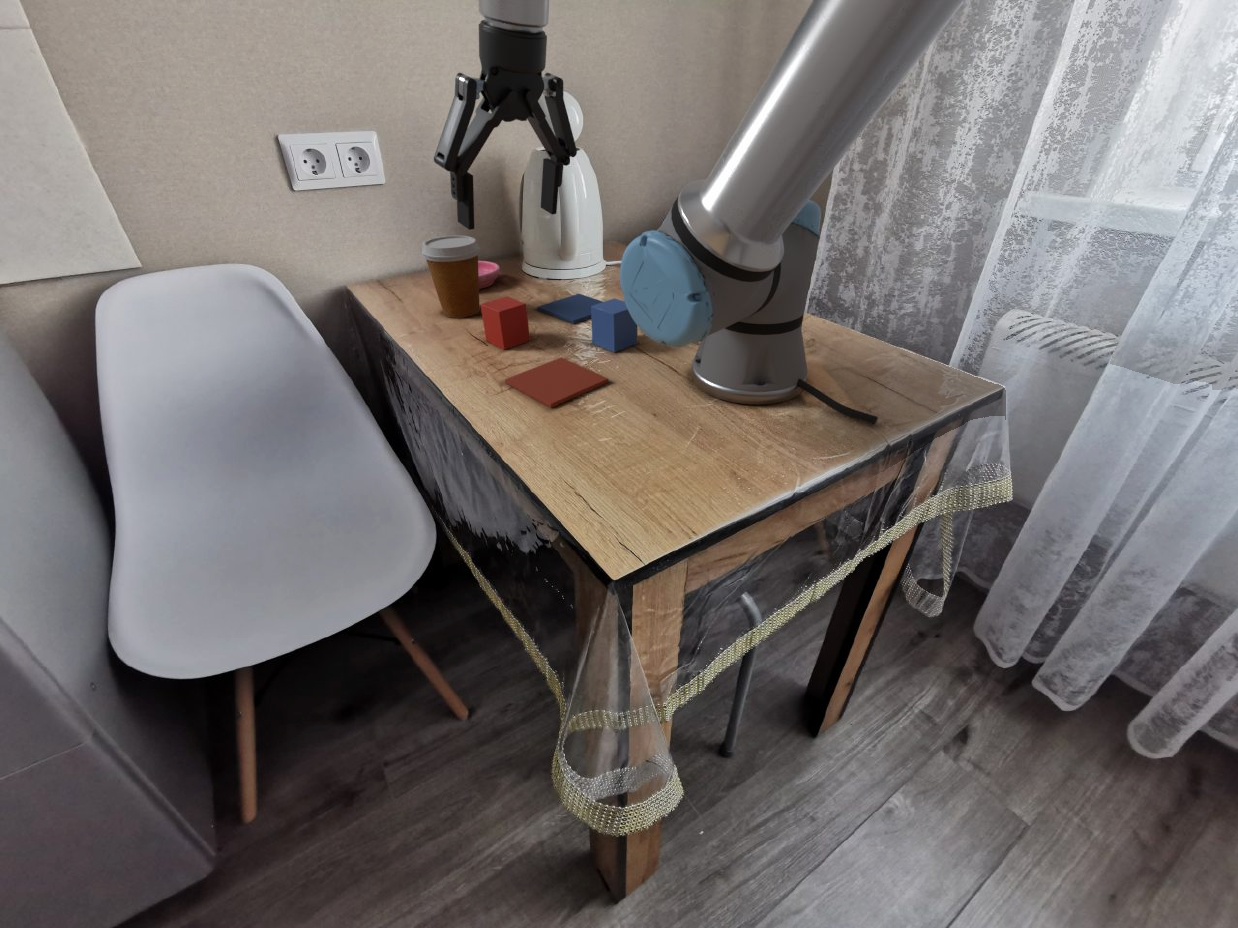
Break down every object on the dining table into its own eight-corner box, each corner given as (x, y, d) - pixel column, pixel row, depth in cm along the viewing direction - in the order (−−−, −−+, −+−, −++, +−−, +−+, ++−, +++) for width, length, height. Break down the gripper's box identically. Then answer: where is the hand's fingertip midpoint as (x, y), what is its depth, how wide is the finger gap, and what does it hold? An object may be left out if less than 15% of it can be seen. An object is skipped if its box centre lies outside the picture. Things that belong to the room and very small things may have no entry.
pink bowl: (445, 275, 118) (442, 260, 116) (504, 274, 118) (502, 258, 117) (433, 294, 108) (429, 278, 106) (497, 292, 108) (495, 276, 106)
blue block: (637, 343, 87) (637, 305, 84) (614, 352, 84) (613, 314, 81) (615, 334, 90) (614, 298, 87) (592, 343, 87) (590, 306, 84)
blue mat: (616, 309, 100) (615, 305, 100) (573, 324, 94) (573, 320, 94) (579, 296, 106) (579, 293, 105) (537, 309, 100) (537, 306, 100)
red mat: (608, 382, 76) (608, 378, 76) (551, 408, 70) (550, 404, 70) (561, 361, 82) (561, 357, 82) (505, 383, 76) (504, 379, 76)
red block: (530, 340, 88) (526, 303, 85) (504, 349, 86) (498, 311, 82) (511, 332, 91) (507, 296, 88) (486, 341, 89) (480, 304, 85)
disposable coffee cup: (482, 321, 96) (471, 248, 89) (427, 321, 96) (411, 249, 89) (493, 302, 103) (484, 234, 97) (442, 303, 104) (429, 235, 97)
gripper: (576, 22, 71) (562, 196, 85) (389, 9, 56) (410, 220, 71) (617, 36, 67) (594, 215, 82) (428, 26, 53) (442, 244, 68)
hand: (509, 218), depth 76 cm, fingers open, 13 cm apart
